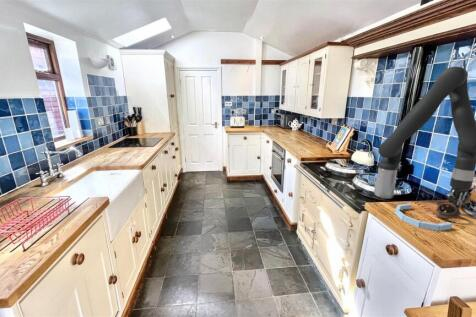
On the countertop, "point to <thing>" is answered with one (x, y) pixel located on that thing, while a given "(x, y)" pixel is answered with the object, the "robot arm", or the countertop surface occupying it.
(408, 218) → the collar
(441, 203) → the pottery mug
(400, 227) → the countertop surface
